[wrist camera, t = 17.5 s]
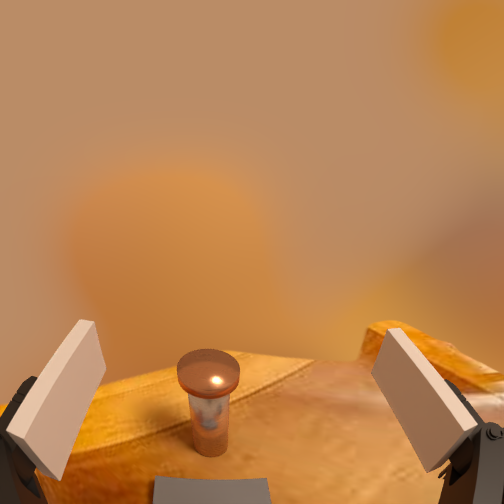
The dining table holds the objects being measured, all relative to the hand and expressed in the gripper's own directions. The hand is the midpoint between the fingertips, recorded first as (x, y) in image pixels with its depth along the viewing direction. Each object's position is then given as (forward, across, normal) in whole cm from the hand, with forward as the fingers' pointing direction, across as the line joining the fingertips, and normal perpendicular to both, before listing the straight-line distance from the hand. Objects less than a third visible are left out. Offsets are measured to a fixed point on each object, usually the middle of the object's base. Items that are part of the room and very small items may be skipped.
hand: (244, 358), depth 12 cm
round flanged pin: (+15, -2, -30) cm, 34 cm away
